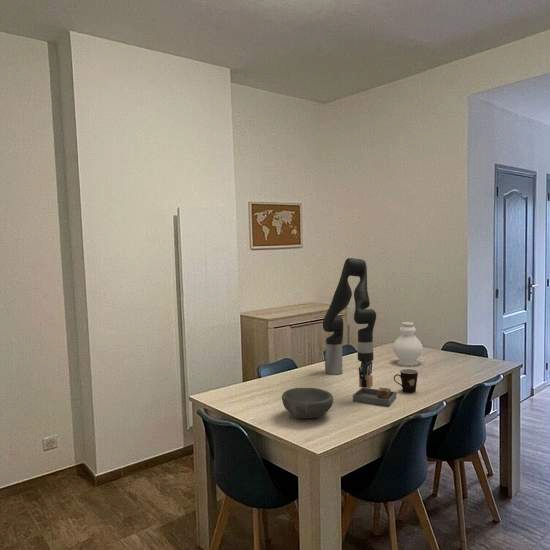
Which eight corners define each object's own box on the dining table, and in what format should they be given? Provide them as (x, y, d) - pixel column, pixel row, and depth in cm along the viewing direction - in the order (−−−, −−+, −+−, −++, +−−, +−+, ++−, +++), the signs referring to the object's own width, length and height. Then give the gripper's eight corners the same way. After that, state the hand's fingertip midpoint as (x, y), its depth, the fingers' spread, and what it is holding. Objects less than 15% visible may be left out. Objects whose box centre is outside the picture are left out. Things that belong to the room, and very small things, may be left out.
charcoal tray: (352, 401, 230) (352, 395, 230) (361, 393, 242) (361, 387, 242) (388, 406, 222) (388, 400, 222) (396, 398, 234) (396, 391, 234)
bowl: (338, 424, 202) (338, 401, 202) (284, 427, 201) (284, 403, 200) (328, 405, 225) (327, 384, 224) (279, 408, 223) (279, 386, 223)
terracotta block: (359, 387, 233) (359, 376, 232) (362, 384, 237) (362, 374, 237) (369, 388, 230) (369, 378, 230) (372, 385, 235) (372, 375, 234)
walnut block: (377, 400, 229) (377, 390, 229) (380, 397, 233) (380, 387, 233) (387, 402, 227) (387, 391, 226) (390, 399, 231) (390, 388, 231)
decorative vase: (401, 368, 287) (401, 326, 285) (387, 360, 304) (387, 321, 302) (428, 365, 291) (428, 324, 289) (413, 358, 308) (413, 319, 307)
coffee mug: (418, 389, 247) (418, 369, 246) (417, 394, 239) (417, 374, 238) (394, 387, 251) (394, 368, 250) (393, 392, 243) (393, 372, 242)
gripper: (362, 346, 241) (363, 380, 242) (352, 353, 228) (353, 388, 229) (377, 348, 237) (377, 382, 238) (368, 354, 225) (368, 390, 226)
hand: (365, 385), depth 234 cm, fingers closed on terracotta block, 5 cm apart
